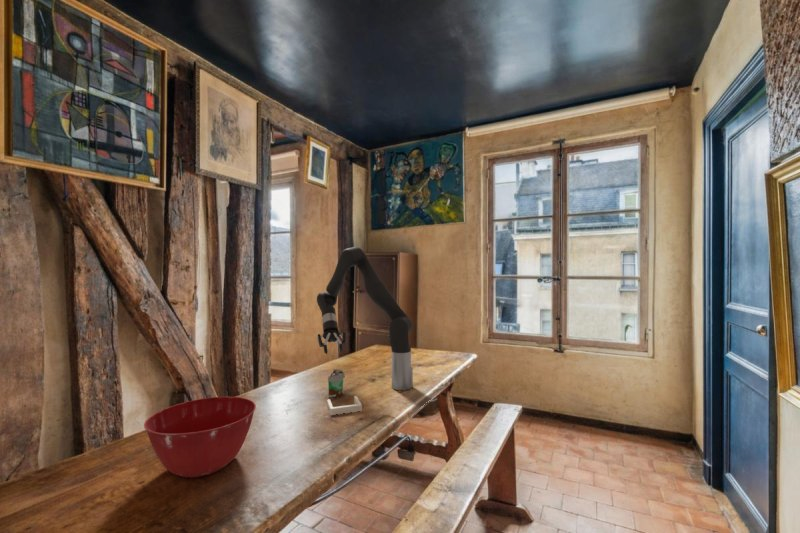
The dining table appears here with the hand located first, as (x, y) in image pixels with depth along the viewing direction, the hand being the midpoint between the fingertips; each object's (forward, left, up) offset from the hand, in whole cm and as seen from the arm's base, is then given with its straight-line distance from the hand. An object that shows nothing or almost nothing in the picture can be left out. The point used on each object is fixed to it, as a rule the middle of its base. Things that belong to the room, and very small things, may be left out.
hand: (333, 352), depth 177 cm
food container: (0, +12, -17) cm, 21 cm away
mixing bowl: (+46, +57, -17) cm, 75 cm away
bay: (0, +29, -16) cm, 33 cm away
